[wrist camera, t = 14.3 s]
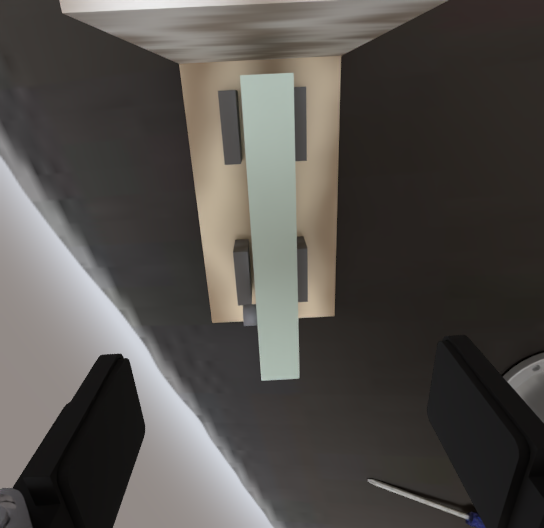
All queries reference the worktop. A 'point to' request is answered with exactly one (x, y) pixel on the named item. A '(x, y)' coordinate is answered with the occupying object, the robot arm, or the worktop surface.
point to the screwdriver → (433, 504)
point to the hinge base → (229, 117)
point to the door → (272, 219)
